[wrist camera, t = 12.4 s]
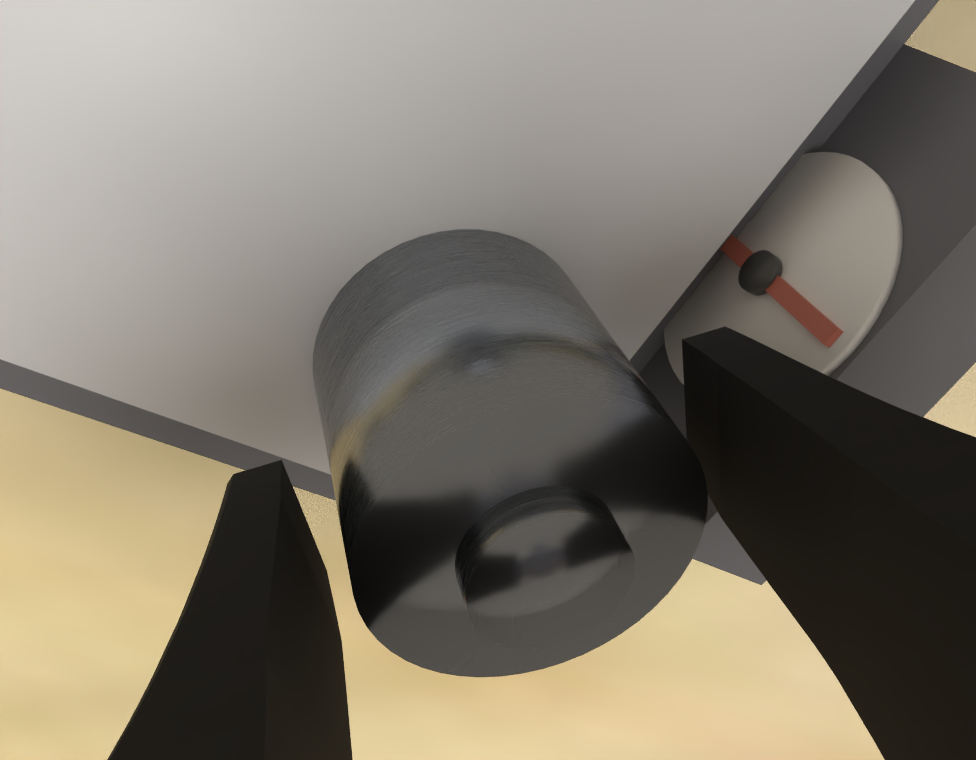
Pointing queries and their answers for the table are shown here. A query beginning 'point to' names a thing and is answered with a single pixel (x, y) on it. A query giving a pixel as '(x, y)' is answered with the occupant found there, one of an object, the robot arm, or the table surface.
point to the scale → (471, 193)
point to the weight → (496, 459)
